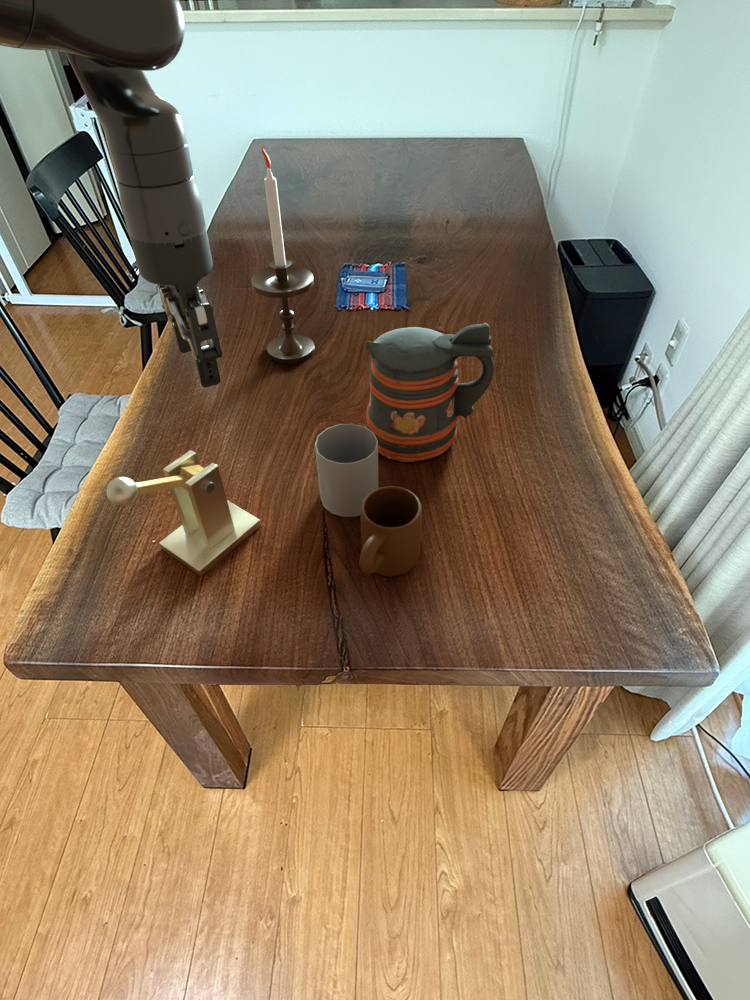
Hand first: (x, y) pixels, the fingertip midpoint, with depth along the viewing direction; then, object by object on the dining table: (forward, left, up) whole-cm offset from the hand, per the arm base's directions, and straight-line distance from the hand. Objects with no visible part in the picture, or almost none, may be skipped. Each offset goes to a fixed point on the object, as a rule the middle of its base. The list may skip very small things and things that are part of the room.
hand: (199, 366), depth 71 cm
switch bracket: (-5, -6, -22) cm, 23 cm away
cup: (+15, -8, -22) cm, 28 cm away
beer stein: (+32, -1, -22) cm, 39 cm away
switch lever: (-10, -8, -10) cm, 16 cm away
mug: (+13, -22, -22) cm, 34 cm away
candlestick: (+23, +33, -22) cm, 46 cm away
